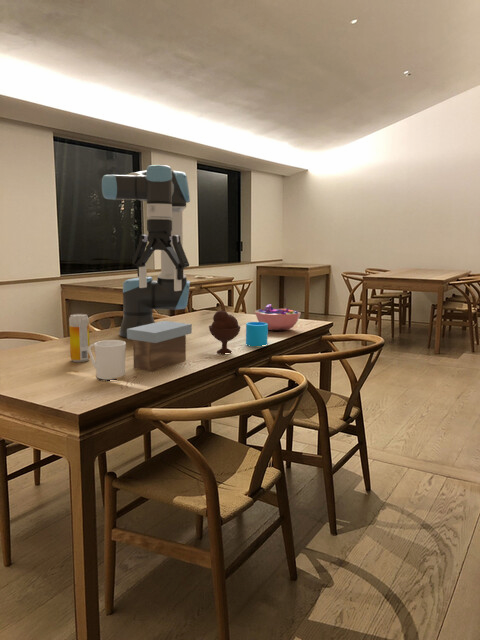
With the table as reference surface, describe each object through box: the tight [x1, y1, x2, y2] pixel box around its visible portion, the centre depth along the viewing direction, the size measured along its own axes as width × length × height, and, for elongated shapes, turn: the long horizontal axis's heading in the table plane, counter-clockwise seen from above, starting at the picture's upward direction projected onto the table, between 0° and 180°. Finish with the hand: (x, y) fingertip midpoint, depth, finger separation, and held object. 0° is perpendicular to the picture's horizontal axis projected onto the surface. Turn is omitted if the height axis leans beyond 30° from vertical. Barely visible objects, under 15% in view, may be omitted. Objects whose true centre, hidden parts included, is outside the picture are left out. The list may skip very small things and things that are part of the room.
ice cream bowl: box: [208, 310, 241, 355], centre depth 188 cm, size 11×11×15 cm
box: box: [132, 335, 187, 372], centre depth 168 cm, size 7×17×10 cm, turn 149°
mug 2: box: [245, 321, 269, 347], centre depth 204 cm, size 12×8×8 cm
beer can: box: [68, 313, 91, 363], centre depth 174 cm, size 6×6×15 cm
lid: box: [126, 320, 193, 343], centre depth 167 cm, size 11×18×4 cm, turn 149°
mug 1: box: [88, 339, 127, 382], centre depth 155 cm, size 11×9×10 cm
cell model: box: [254, 303, 302, 331], centre depth 232 cm, size 17×20×11 cm
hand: (160, 289), depth 165 cm, fingers open, 13 cm apart
